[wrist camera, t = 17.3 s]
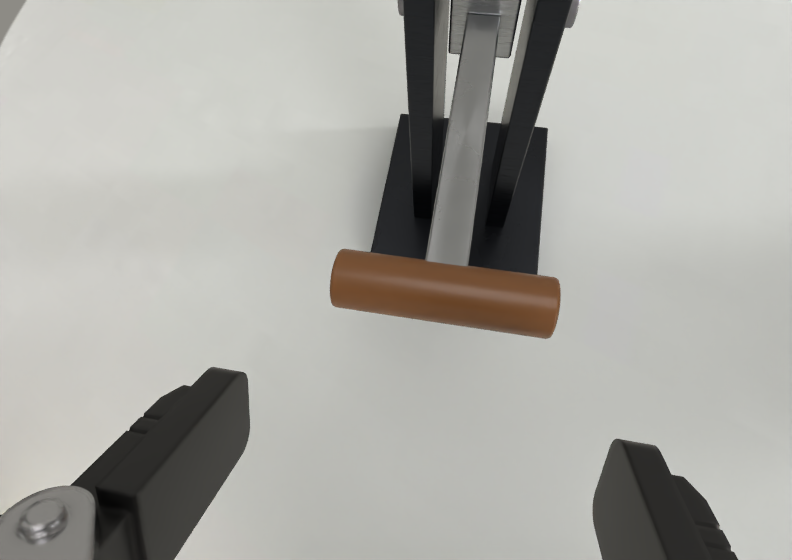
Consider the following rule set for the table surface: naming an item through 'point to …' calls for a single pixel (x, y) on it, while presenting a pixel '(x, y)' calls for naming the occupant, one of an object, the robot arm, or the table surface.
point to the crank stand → (503, 147)
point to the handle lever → (456, 212)
